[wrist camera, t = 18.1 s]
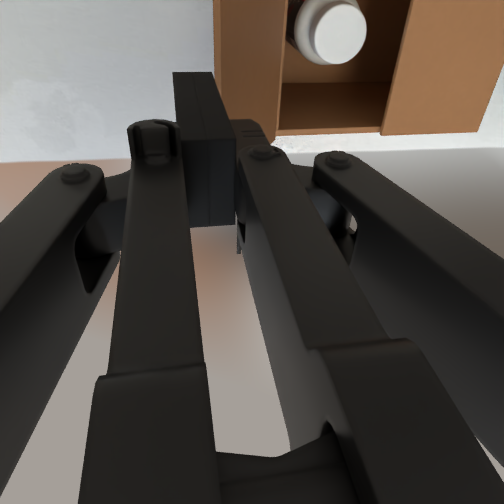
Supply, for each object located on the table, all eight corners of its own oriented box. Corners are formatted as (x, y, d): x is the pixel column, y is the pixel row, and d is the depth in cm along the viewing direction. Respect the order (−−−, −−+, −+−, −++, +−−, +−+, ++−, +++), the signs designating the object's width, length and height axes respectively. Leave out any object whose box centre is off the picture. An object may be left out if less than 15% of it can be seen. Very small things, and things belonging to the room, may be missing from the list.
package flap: (275, 139, 30) (270, 138, 30) (291, -85, 22) (285, -85, 23) (222, 188, 24) (216, 186, 24) (219, -96, 16) (210, -96, 16)
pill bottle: (299, -36, 35) (339, -27, 27) (344, 3, 37) (392, 22, 30) (263, 24, 37) (290, 48, 29) (308, 58, 39) (343, 88, 32)
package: (244, 87, 41) (273, 140, 30) (248, -81, 33) (289, -86, 22) (402, 84, 43) (478, 132, 33) (441, -71, 35) (557, -72, 25)
